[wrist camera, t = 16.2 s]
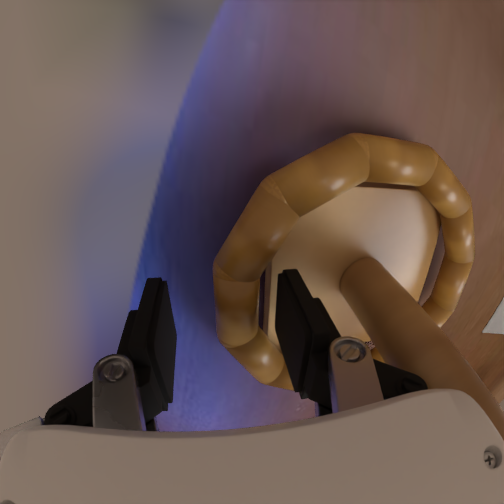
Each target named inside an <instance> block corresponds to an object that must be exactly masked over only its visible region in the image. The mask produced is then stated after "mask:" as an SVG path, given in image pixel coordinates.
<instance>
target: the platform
mask: <svg viewBox="0 0 504 504" xmlns="http://www.w3.org/2000/svg"><path fill="white" fill-rule="evenodd" d="M482 332H484V333H497V334H504V298H503V300H502V302H501V303H500V305H499V307H498V308H497V310H496V311H495V313H494V315H493V316H492V318H491V319H490V321H489V322H488V324H487V325H486V327H485V328H484V330H483V331H482Z"/></svg>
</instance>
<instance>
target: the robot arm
mask: <svg viewBox="0 0 504 504" xmlns="http://www.w3.org/2000/svg"><path fill="white" fill-rule="evenodd" d="M275 331H276V335H277V338H278V341H279V344H280V348H281V351H282V354H283V357H284V360H285V364H286V367H287V370H288V373H289V376H290V379H291V383H292V386H293V389H294V391H295V392H299V393H300V396H301V399H306V398H309V399H310V400H313V401H315V415H316V417H314V418H309V419H304V420H298V421H292V422H286V423H280V424H273V425H266V426H258V427H249V428H240V429H228V430H213V431H188V432H159V428H158V424H157V419H156V416H157V415H158V414H159V413H161V412H162V411H168V403H172V402H173V386H174V369H175V354H176V342H177V334H176V328H175V323H174V318H173V313H172V308H171V302H170V297H169V291H168V285H167V281H162V278H161V277H159V278H147V281H146V284H145V287H144V290H143V294H142V297H141V301H140V304H139V307H138V310H131V311H130V312H129V314H128V317H127V320H126V323H125V327H124V330H123V333H122V337H121V340H120V344H119V347H118V351H117V354H112V355H108V356H106V357H104V358H102V359H101V360H99V362H97V363H96V365H95V367H94V371H93V381H92V382H90V383H88V384H87V385H85V386H84V387H82V388H80V389H79V390H77V391H76V392H74V393H72V394H71V395H69V396H67V397H66V398H64V399H63V400H61V401H59V402H58V403H56V404H54V405H53V406H52V407H51V408H49V410H48V411H47V413H46V415H45V418H43V419H42V418H41V417H40V416H39V417H37V418H34V419H32V420H29V421H27V422H24V423H22V424H20V425H17V426H14V427H12V428H9V429H7V430H4V431H3V432H1V433H0V504H504V440H503V439H502V437H501V435H500V434H499V432H498V431H497V429H496V427H495V426H494V424H493V423H492V421H491V420H490V419H489V417H488V416H487V414H486V413H485V412H484V410H483V409H482V408H481V407H480V406H479V404H478V403H477V402H476V401H475V400H474V399H473V398H472V397H471V396H469V395H468V394H466V393H465V392H463V391H460V390H455V389H428V387H427V384H426V382H425V381H424V380H423V379H422V378H421V377H420V376H418V375H416V374H414V373H411V372H408V371H405V370H402V369H400V368H397V367H394V366H391V365H389V364H386V363H383V362H381V361H378V360H375V359H373V358H372V355H371V352H370V349H369V347H368V345H367V344H366V343H365V342H364V341H362V340H360V339H358V338H355V337H350V336H344V337H341V335H340V333H339V331H338V330H337V328H336V326H335V324H334V322H333V321H332V319H331V317H330V315H329V314H328V312H327V310H326V308H325V307H324V305H323V303H322V301H321V300H320V298H318V297H317V298H313V297H312V295H311V293H310V291H309V290H308V288H307V286H306V284H305V282H304V281H303V279H302V277H301V275H300V273H299V272H298V270H297V269H285V270H283V271H282V273H279V274H278V279H277V297H276V313H275Z"/></svg>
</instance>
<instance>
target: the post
mask: <svg viewBox="0 0 504 504" xmlns="http://www.w3.org/2000/svg"><path fill="white" fill-rule="evenodd" d="M440 226H441V218H440V213H439V212H438V211H437V209H436V208H435V207H434V206H433V205H432V204H431V203H430V202H429V201H428V200H427V199H426V198H425V197H424V196H423V195H422V194H421V193H420V192H419V191H418V190H417V189H416V188H415V187H414V186H410V185H399V184H387V183H374V182H363V183H361V184H359V185H357V186H355V187H354V188H352V189H350V190H348V191H346V192H345V193H343V194H341V195H339V196H337V197H335V198H334V199H332V200H330V201H328V202H326V203H325V204H323V205H321V206H319V207H317V208H316V209H314V210H312V211H310V212H309V213H307V214H305V215H303V216H301V217H300V218H299V220H298V221H297V223H296V224H295V226H294V227H293V229H292V230H291V232H290V233H289V235H288V236H287V238H286V239H285V241H284V242H283V244H282V245H281V247H280V248H279V250H278V251H277V253H276V254H275V256H274V257H273V259H272V260H271V262H270V263H269V265H268V266H267V267H266V272H265V296H264V318H263V332H264V333H265V334H266V335H267V337H268V338H269V339H270V341H271V342H272V343H273V344H274V346H275V347H276V348H277V349H278V351H279V352H280V353H282V351H281V348H280V344H279V341H278V338H277V335H276V331H275V313H276V297H277V279H278V274H279V273H282V271H283V270H285V269H297V270H298V272H299V273H300V275H301V277H302V279H303V281H304V282H305V284H306V286H307V288H308V290H309V291H310V293H311V295H312V297H313V298H317V297H318V298H320V300H321V301H322V303H323V305H324V307H325V308H326V310H327V312H328V314H329V315H330V317H331V319H332V321H333V322H334V324H335V326H336V328H337V330H338V331H339V333H340V335H341V337H344V336H350V337H355V338H358V339H360V340H362V341H364V342H367V341H372V342H373V344H374V345H375V347H376V349H377V350H378V352H379V353H380V355H381V357H382V358H383V360H384V362H385V363H386V364H389V365H391V366H394V367H397V368H400V369H402V370H405V371H408V372H411V373H414V374H416V375H418V376H420V377H421V378H422V379H423V380H424V381H425V382H426V384H427V387H428V389H455V390H460V391H463V392H465V393H466V394H468V395H469V396H471V397H472V398H473V399H474V400H475V401H476V402H477V403H478V404H479V406H480V407H481V408H482V409H483V410H484V412H485V413H486V414H487V416H488V417H489V419H490V420H491V421H492V423H493V424H494V426H495V427H496V429H497V431H498V432H499V434H500V435H501V437H502V439H503V440H504V411H503V410H502V408H501V407H500V405H499V404H498V402H497V401H496V399H495V398H494V397H493V395H492V394H491V392H490V391H489V390H488V388H487V387H486V385H485V384H484V383H483V381H482V380H481V379H480V377H479V376H478V375H477V373H476V372H475V371H474V369H473V368H472V367H471V366H470V364H469V363H468V362H467V360H466V359H465V358H464V357H463V355H462V354H461V353H460V352H459V350H458V349H457V348H456V347H455V345H454V344H453V343H452V342H451V341H450V339H449V338H448V337H447V336H446V335H445V333H444V332H443V331H442V330H441V329H440V328H439V326H438V325H437V324H436V323H435V322H434V321H433V319H432V318H431V317H430V316H429V315H428V314H427V313H426V311H425V310H424V309H423V308H422V307H421V306H420V305H419V304H418V300H419V297H420V294H421V292H422V289H423V286H424V283H425V280H426V277H427V273H428V270H429V267H430V264H431V260H432V257H433V253H434V250H435V246H436V242H437V238H438V235H439V231H440Z"/></svg>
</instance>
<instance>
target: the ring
mask: <svg viewBox="0 0 504 504" xmlns="http://www.w3.org/2000/svg"><path fill="white" fill-rule="evenodd" d="M363 182H374V183H387V184H399V185H410V186H414V187H415V188H416V189H417V190H418V191H419V192H420V193H421V194H422V195H423V196H424V197H425V198H426V199H427V200H428V201H429V202H430V203H431V204H432V205H433V206H434V207H435V208H436V209H437V211H438V212H439V213H440V218H441V225H442V232H443V239H444V247H445V254H444V258H443V261H442V264H441V267H440V270H439V273H438V276H437V279H436V282H435V285H434V288H433V291H432V293H431V295H430V297H429V298H428V299H427V301H426V302H425V303H424V304H423V306H422V308H423V309H424V310H425V311H426V313H427V314H428V315H429V316H430V317H431V318H432V319H433V321H434V322H435V323H436V324H437V325H438V326H439V328H441V326H442V325H443V324H444V323H445V322H446V320H447V319H448V318H449V317H450V315H451V314H452V313H453V312H454V310H455V308H456V306H457V303H458V301H459V298H460V296H461V294H462V291H463V289H464V286H465V283H466V281H467V278H468V275H469V273H470V270H471V267H472V264H473V261H474V257H475V242H474V224H473V212H472V203H471V198H470V196H469V194H468V192H467V191H466V190H465V188H464V187H463V186H462V184H461V183H460V182H459V180H458V179H457V178H456V176H455V175H454V174H453V172H452V171H451V170H450V169H449V167H448V166H447V165H446V164H445V162H444V161H443V160H442V159H441V157H440V156H439V155H438V154H437V153H436V152H435V151H434V149H432V148H431V147H429V146H428V145H425V144H421V143H416V142H411V141H406V140H401V139H395V138H389V137H383V136H377V135H370V134H363V133H350V134H347V135H344V136H342V137H340V138H338V139H336V140H334V141H332V142H330V143H328V144H326V145H324V146H323V147H321V148H319V149H317V150H315V151H313V152H311V153H309V154H307V155H305V156H303V157H301V158H300V159H298V160H296V161H294V162H292V163H290V164H288V165H286V166H285V167H283V168H281V169H279V170H277V171H275V172H274V173H272V174H270V175H269V176H267V177H266V178H264V179H263V180H262V182H261V183H260V184H259V186H258V188H257V189H256V191H255V192H254V194H253V196H252V197H251V199H250V201H249V202H248V204H247V206H246V207H245V209H244V210H243V212H242V214H241V215H240V217H239V219H238V220H237V222H236V224H235V225H234V227H233V229H232V230H231V232H230V234H229V235H228V237H227V239H226V240H225V242H224V244H223V245H222V247H221V249H220V251H219V252H218V254H217V256H216V257H215V260H214V263H213V285H214V301H215V316H216V329H217V337H218V339H219V341H220V343H221V344H222V345H223V346H224V347H225V348H226V349H227V350H228V351H229V353H230V354H231V355H232V356H233V357H234V358H235V359H236V360H237V361H238V362H239V363H240V364H241V365H242V366H243V367H244V368H245V369H246V370H247V371H248V372H249V373H250V374H251V375H252V376H253V377H254V378H255V379H256V380H257V381H259V382H260V383H262V384H265V385H269V386H274V387H278V388H283V389H288V390H293V391H294V389H293V386H292V383H291V379H290V376H289V373H288V370H287V367H286V364H285V360H284V357H283V354H282V353H280V352H279V351H278V349H277V348H276V347H275V346H274V344H273V343H272V342H271V341H270V339H269V338H268V337H267V335H266V334H265V333H264V332H263V330H262V329H261V328H260V326H259V325H258V320H259V295H260V276H261V275H262V273H263V272H264V270H265V269H266V267H267V266H268V265H269V263H270V262H271V260H272V259H273V257H274V256H275V254H276V253H277V251H278V250H279V248H280V247H281V245H282V244H283V242H284V241H285V239H286V238H287V236H288V235H289V233H290V232H291V230H292V229H293V227H294V226H295V224H296V223H297V221H298V220H299V218H300V217H301V216H303V215H305V214H307V213H309V212H310V211H312V210H314V209H316V208H317V207H319V206H321V205H323V204H325V203H326V202H328V201H330V200H332V199H334V198H335V197H337V196H339V195H341V194H343V193H345V192H346V191H348V190H350V189H352V188H354V187H355V186H357V185H359V184H361V183H363ZM370 352H371V355H372V358H373V359H375V360H378V361H381V362H383V363H385V362H384V360H383V358H382V357H381V355H380V353H379V352H378V350H377V349H376V347H375V348H373V349H371V350H370Z"/></svg>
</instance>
